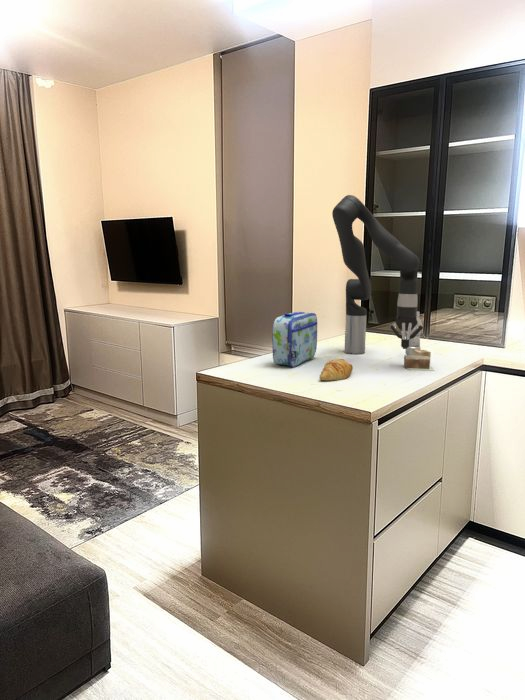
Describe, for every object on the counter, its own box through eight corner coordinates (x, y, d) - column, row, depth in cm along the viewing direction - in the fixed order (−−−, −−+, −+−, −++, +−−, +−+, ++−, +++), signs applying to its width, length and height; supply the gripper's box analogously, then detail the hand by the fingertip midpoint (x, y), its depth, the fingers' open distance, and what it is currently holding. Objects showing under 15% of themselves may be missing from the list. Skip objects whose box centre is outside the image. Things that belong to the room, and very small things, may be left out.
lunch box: (292, 369, 203) (293, 316, 199) (268, 366, 208) (269, 314, 204) (319, 358, 225) (321, 310, 221) (297, 355, 231) (298, 308, 227)
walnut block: (406, 358, 205) (430, 359, 204) (404, 355, 211) (427, 356, 210) (405, 368, 206) (429, 369, 205) (403, 364, 212) (426, 365, 211)
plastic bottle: (421, 356, 231) (424, 311, 227) (419, 358, 225) (421, 312, 221) (406, 354, 234) (409, 310, 230) (403, 357, 228) (406, 311, 224)
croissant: (327, 393, 184) (337, 375, 180) (306, 376, 188) (315, 358, 184) (355, 380, 200) (365, 363, 196) (335, 365, 204) (344, 348, 201)
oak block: (418, 364, 215) (419, 352, 214) (413, 361, 220) (414, 350, 219) (429, 364, 215) (430, 352, 215) (424, 361, 220) (425, 349, 219)
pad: (407, 369, 204) (408, 369, 204) (404, 364, 214) (404, 363, 214) (434, 370, 203) (434, 370, 203) (429, 365, 212) (429, 364, 212)
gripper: (391, 305, 202) (388, 349, 205) (426, 306, 200) (423, 351, 203) (389, 304, 209) (386, 346, 212) (423, 304, 207) (420, 347, 210)
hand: (404, 348), depth 208 cm, fingers closed
